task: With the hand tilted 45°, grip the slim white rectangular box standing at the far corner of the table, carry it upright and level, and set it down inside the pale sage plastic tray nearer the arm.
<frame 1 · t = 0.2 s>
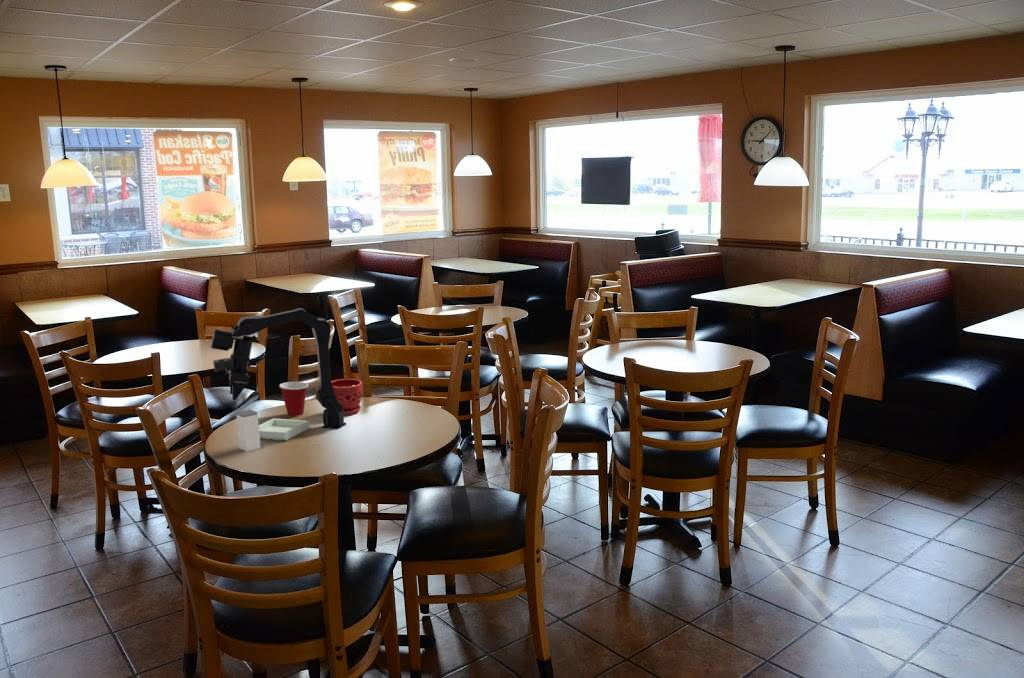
hand: (232, 397, 287), 15 cm above the table, tool tilted 15°, fingers open, 9 cm apart
plastic cup: (296, 414, 320), on the table
tray: (280, 433, 296), on the table
plant pot: (346, 412, 321), on the table
white rectangular box: (250, 448, 279), on the table
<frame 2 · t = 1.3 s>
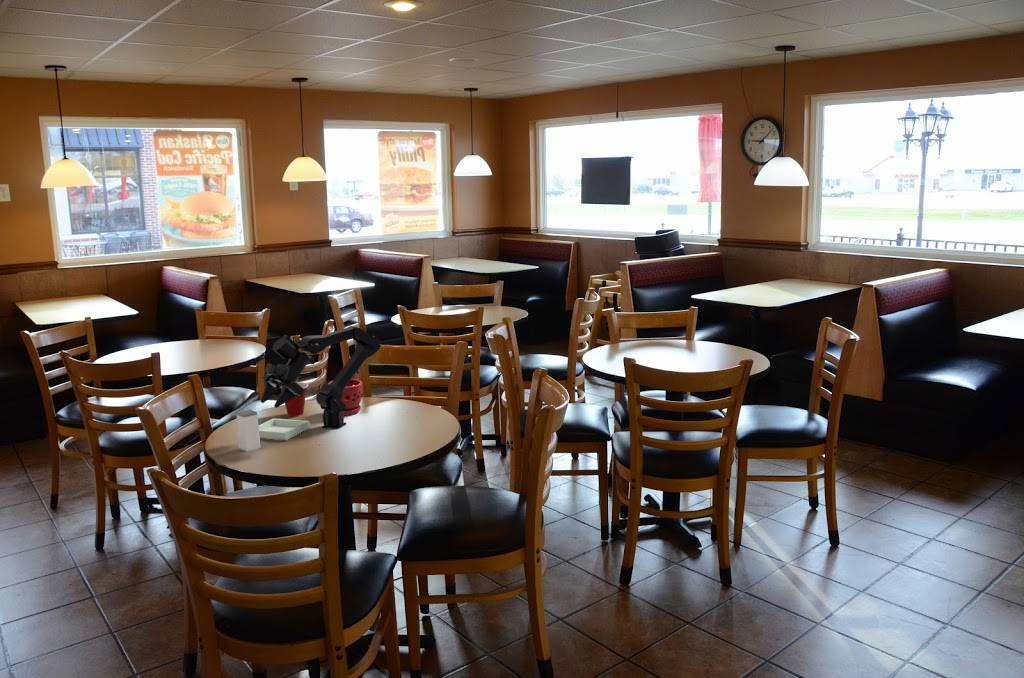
hand: (268, 404, 282), 13 cm above the table, tool tilted 45°, fingers open, 9 cm apart
nothing on the table moved.
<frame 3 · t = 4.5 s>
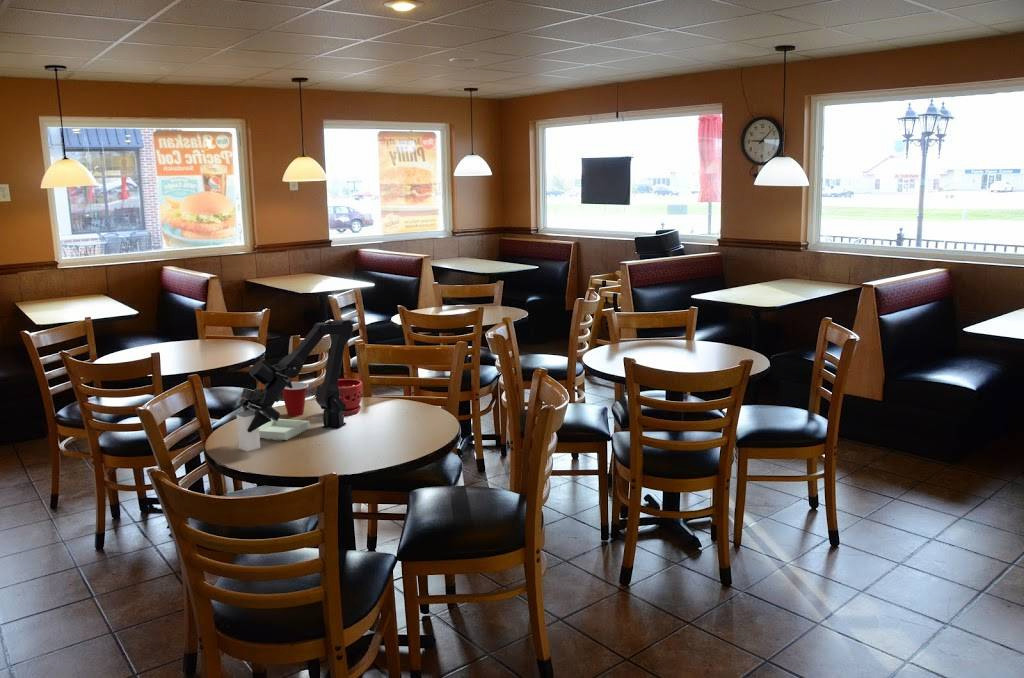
hand: (244, 430, 277), 7 cm above the table, tool tilted 45°, fingers closed on white rectangular box, 5 cm apart
white rectangular box: (250, 448, 279), on the table, touching gripper
everything else where it was.
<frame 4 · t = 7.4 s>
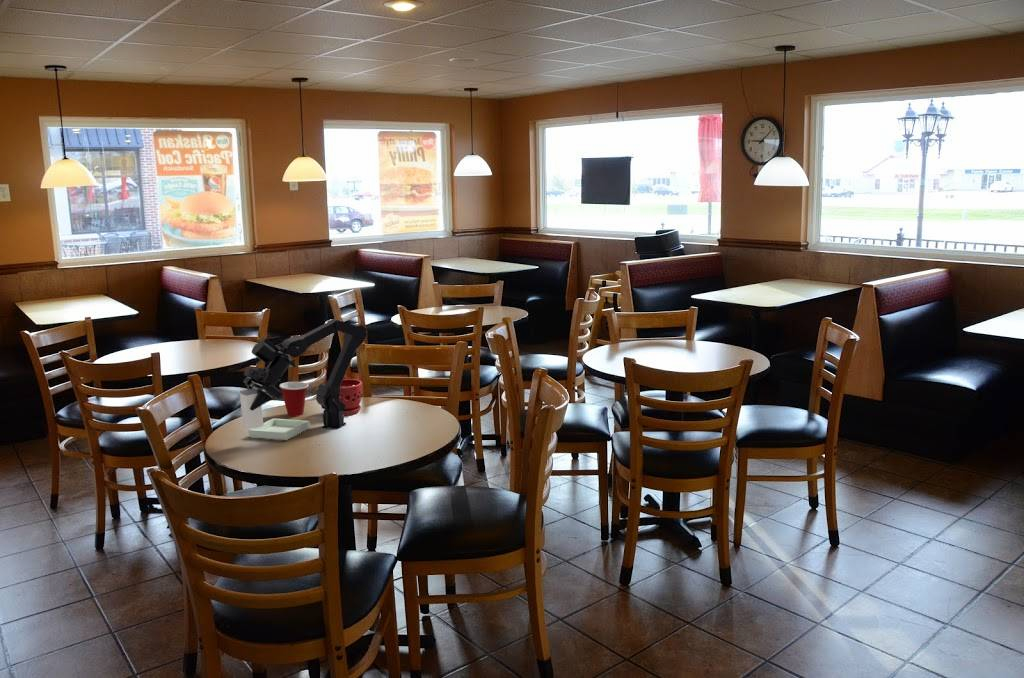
hand: (247, 408, 280), 13 cm above the table, tool tilted 45°, fingers closed on white rectangular box, 5 cm apart
white rectangular box: (253, 426, 282), point 6 cm above the table, touching gripper
everything else where it was.
when the fingers open (9 cm above the table, at t = 10.6 s): white rectangular box drops 1 cm, resting on tray.
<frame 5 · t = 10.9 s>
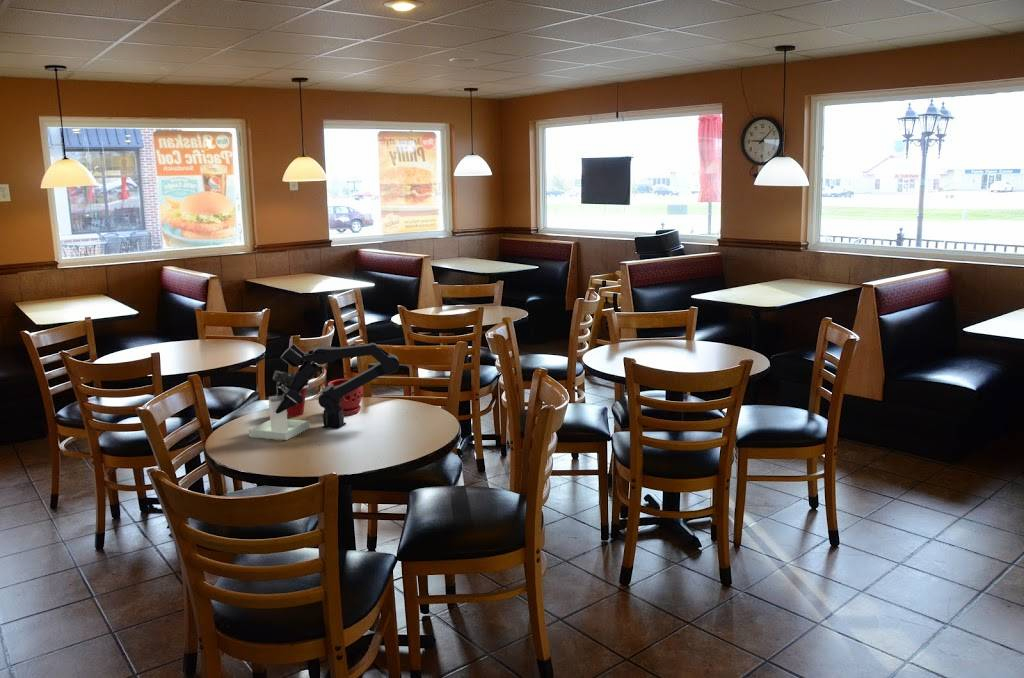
hand: (274, 410, 294), 9 cm above the table, tool tilted 45°, fingers open, 8 cm apart
white rectangular box: (279, 431, 296), point 1 cm above the table, touching tray
everything else where it was.
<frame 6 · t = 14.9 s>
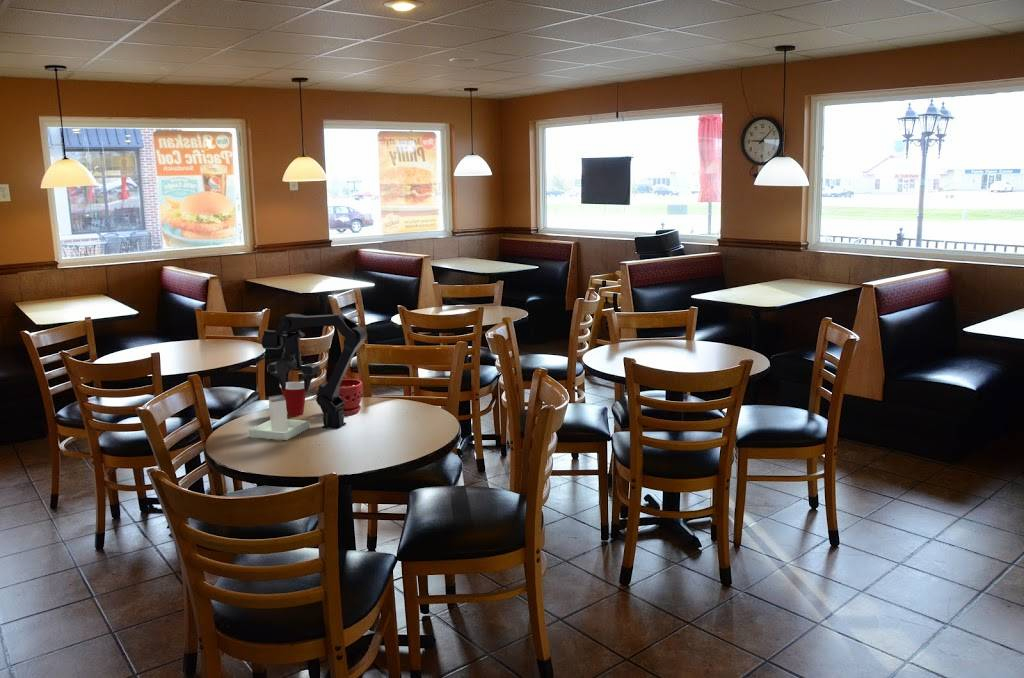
hand: (295, 391, 302), 13 cm above the table, tool pointing down, fingers open, 9 cm apart
nothing on the table moved.
at the end: white rectangular box inside the target area on the tray (0.1 cm from its centre), point 0.6 cm above the tray's base; white rectangular box tilted 0°; the gripper is holding nothing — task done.
